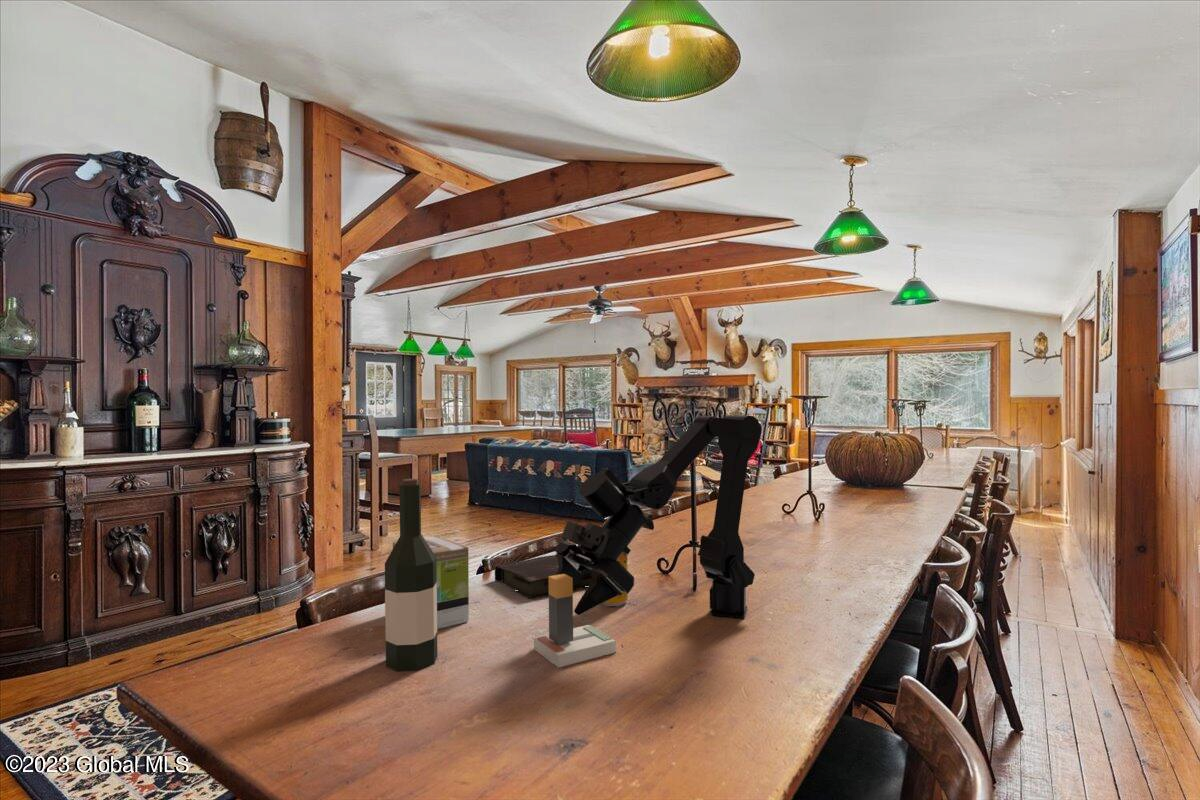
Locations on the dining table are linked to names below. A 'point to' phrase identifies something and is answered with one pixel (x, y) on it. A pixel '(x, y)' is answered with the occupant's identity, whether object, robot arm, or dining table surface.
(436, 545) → the tea box
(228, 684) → the dining table surface
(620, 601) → the beer can
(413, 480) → the wine bottle
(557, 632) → the lever
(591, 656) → the plate
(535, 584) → the diary
